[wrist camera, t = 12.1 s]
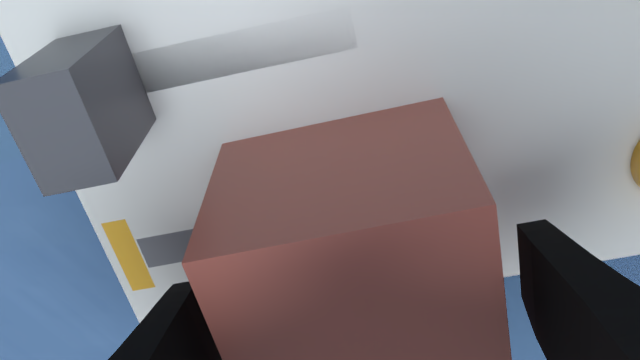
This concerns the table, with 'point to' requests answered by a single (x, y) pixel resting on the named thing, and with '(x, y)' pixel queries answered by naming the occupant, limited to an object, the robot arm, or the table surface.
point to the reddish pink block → (351, 244)
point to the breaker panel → (321, 105)
